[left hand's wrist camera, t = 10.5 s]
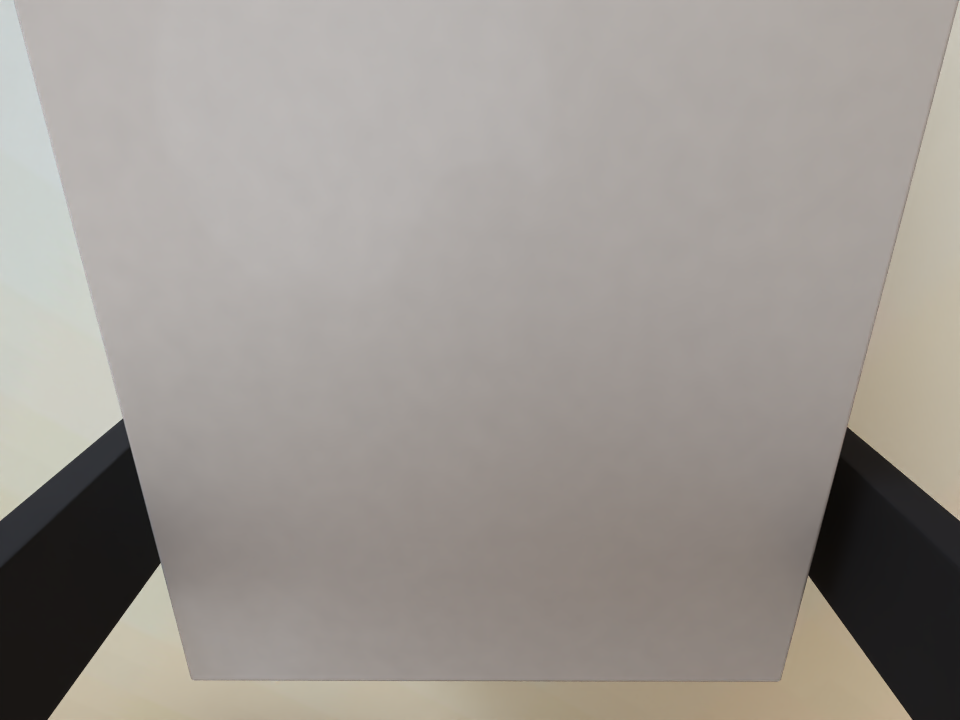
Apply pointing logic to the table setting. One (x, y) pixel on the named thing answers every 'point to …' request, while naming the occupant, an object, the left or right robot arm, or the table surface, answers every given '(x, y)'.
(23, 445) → the table surface
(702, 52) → the cabinet
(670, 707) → the table surface
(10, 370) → the table surface
